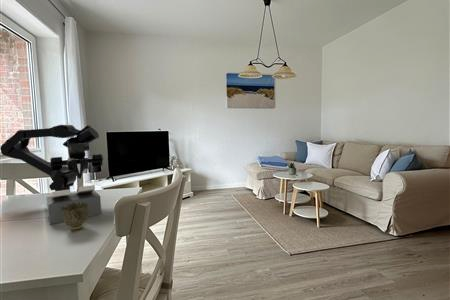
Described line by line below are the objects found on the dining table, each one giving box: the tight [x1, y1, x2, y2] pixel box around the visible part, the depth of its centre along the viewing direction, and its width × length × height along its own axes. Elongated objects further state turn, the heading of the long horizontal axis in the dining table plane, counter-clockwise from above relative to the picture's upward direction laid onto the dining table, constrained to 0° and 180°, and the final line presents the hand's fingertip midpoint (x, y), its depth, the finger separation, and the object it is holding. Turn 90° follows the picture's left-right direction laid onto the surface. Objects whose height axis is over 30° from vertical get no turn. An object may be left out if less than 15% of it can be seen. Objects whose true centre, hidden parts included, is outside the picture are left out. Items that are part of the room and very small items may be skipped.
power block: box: [46, 190, 102, 225], centre depth 93 cm, size 12×16×7 cm
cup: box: [61, 202, 88, 232], centre depth 79 cm, size 8×7×8 cm
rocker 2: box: [76, 184, 96, 194], centre depth 94 cm, size 8×5×2 cm, turn 38°
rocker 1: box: [51, 189, 71, 197], centre depth 89 cm, size 8×5×2 cm, turn 38°
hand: (80, 178), depth 100 cm, fingers closed
